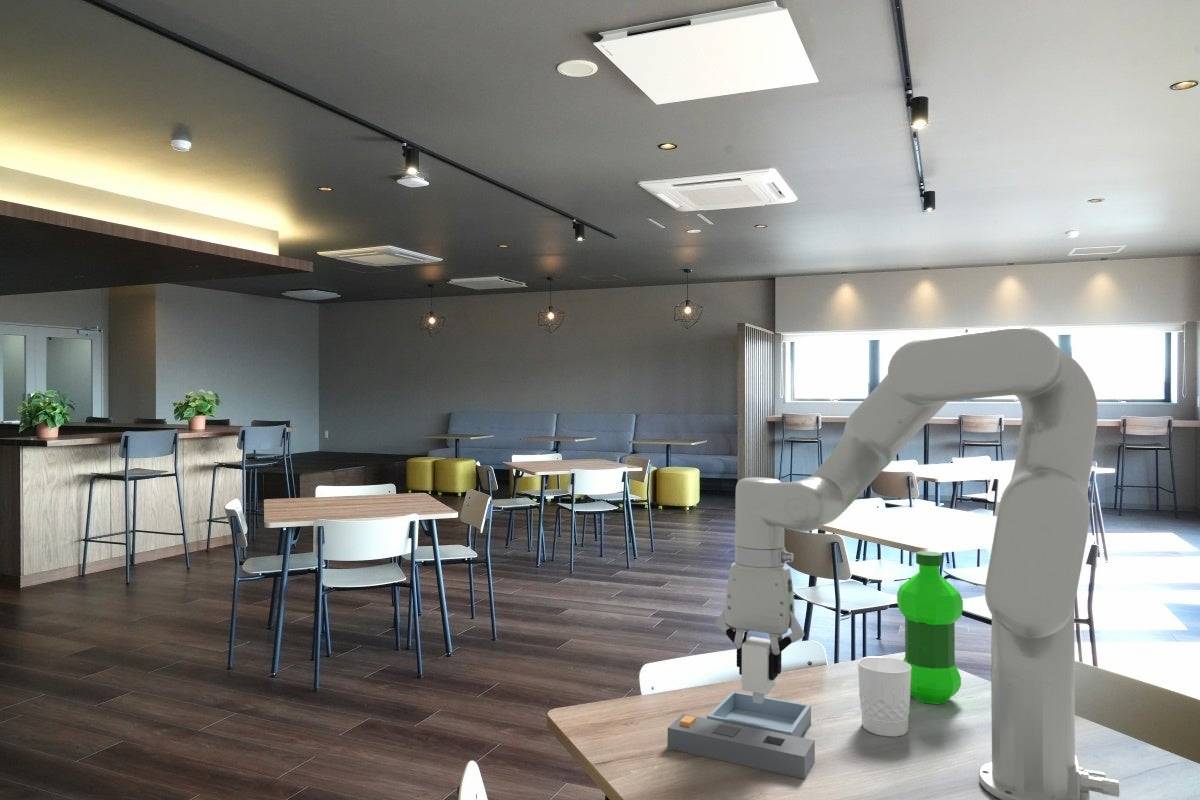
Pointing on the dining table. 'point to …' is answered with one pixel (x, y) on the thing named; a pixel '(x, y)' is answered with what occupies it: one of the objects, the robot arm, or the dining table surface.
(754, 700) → the block
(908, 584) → the plastic bottle
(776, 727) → the tray
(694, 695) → the dining table surface
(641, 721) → the dining table surface
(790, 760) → the strip
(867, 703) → the white cup
